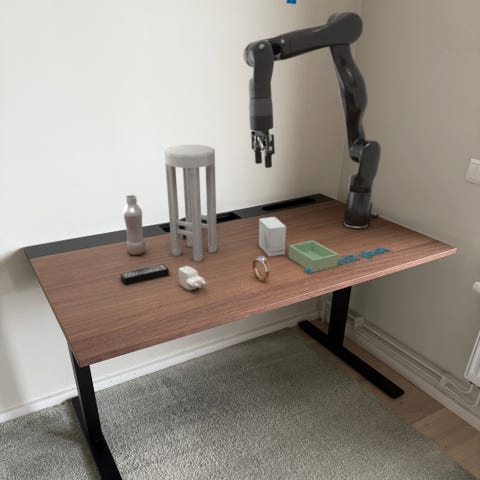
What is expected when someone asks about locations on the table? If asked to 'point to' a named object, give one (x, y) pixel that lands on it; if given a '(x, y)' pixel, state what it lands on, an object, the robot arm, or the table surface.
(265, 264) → the ring
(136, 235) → the plastic bottle
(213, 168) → the stool
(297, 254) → the holder
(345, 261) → the nameplate
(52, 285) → the table surface
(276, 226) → the cosmetics box
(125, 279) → the multiport hub
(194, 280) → the power adapter
